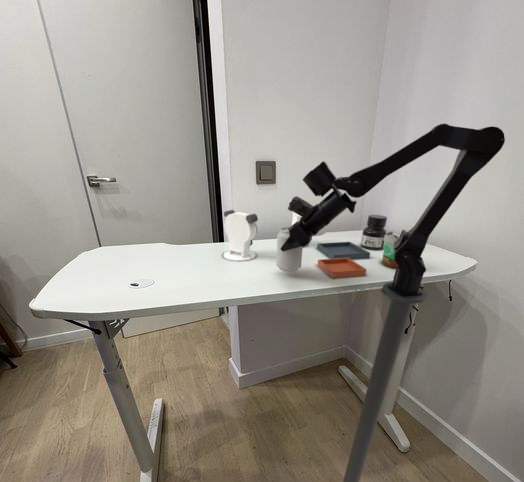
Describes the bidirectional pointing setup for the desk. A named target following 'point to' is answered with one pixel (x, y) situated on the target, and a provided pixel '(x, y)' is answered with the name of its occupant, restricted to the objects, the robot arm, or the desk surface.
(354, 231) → the desk surface
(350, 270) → the terracotta tray
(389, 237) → the food container
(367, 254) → the grey tray
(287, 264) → the can
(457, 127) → the robot arm
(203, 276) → the desk surface
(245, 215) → the panda figurine
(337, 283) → the desk surface
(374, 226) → the ink bottle
